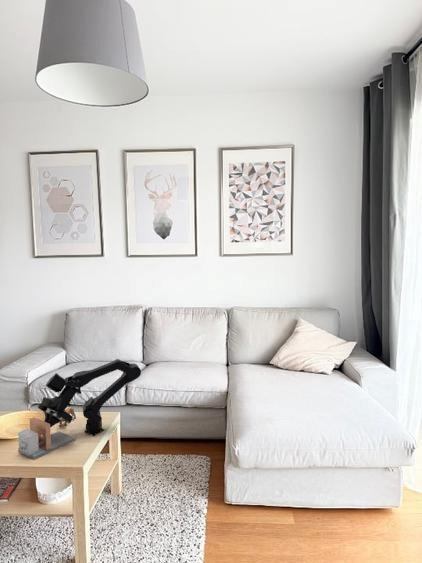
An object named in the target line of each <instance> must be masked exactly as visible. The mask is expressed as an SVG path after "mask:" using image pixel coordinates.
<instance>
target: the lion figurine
mask: <svg viewBox="0 0 422 563" xmlns="http://www.w3.org/2000/svg"><path fill="white" fill-rule="evenodd" d="M74 410H75V409H74V408H73V407H72V406H68V407H66V409H65V410H64V411H65V412H67V413H68V414H70V415H71V416H73V419H72V420H76V419H77V416H76V413H75V411H74ZM63 422H64V427H68V422H66V420H64V419H63V418H62V419H61V422H59V424H58V427H62V426H63Z"/></svg>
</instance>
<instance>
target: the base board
mask: <svg viewBox="0 0 422 563" xmlns="http://www.w3.org/2000/svg"><path fill="white" fill-rule="evenodd" d="M50 434H51V449H48V450H45V449H43V448H41V447H39V452H38V453H36V454H33V455H31V456H28V455H26V454H24V453H22V452H21V451H19V447H18V448H17V449H18V450H17V451H18V452H19V453H20V454H23V455H24V456H27V457H28V458H30V459H32V460H34V461H35V460H36V459H39V458H41V457H44V456H45V455H47V454H49V453H51V452H54V451H56V450H58V449H60V448H62V447H65V446H66V445H69V444H71V443H73V442H76V438H75V437H73V436H72V435H68V434H66V433H65V432H62V431H56V432H54V433H50Z"/></svg>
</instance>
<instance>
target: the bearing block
mask: <svg viewBox="0 0 422 563" xmlns="http://www.w3.org/2000/svg"><path fill="white" fill-rule="evenodd" d="M17 435H18V436H17V437H18V448H19V451H21V452H22V453H21V452H20V453H21V454H23V453H24V454H26V455H28V456H31V455H33V454H36V453H38V452H39V443H38V433H36V432H34V431H31V430H30V428H26V429H23V430H21V431H18V432H17ZM23 442H25V443H26V448H25V449H21V447H20V444H21V443H23ZM19 451H18V452H19ZM24 454H23V455H24ZM26 455H25V456H26ZM28 456H27V457H28Z"/></svg>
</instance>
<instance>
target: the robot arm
mask: <svg viewBox="0 0 422 563" xmlns="http://www.w3.org/2000/svg"><path fill="white" fill-rule="evenodd" d="M114 371H121V372H122V374H121V376H119V378H117V379H116V380H115V381H114V382H112V383H111V384H110V386H108V387H107V388H106V389H105V390H103V391H102V392H101V393H100V394H99V395H98V396H96V397H94V398H93V396H90V397H89V398H88V399H87V400H86V401H84V404H83V405H82V414H83V417H84V418H85V419H86V424H85V430H84V433H85V434H88V435H90V436H96V435H97V434H100V433H102V432H103V431H105V429H104V428H103V420H102V419H103V417H102V414H101V409H102V407H103V405H104V404H105V403H106V402H108V401H109V400H110V399H111V398H112V397H114V395H116V394H117V393H118V392H119V391H120V390H121V389H123V387H124V386H126V385H127V384H129V383H132V382H134V381H135V380H137V379H138V378H139V377H141V375H142V370H141V368H140V367H139V365H138V364H137V363H130V362H128V361H124V360H122V359H120V358H118V359H115V360H112V361H111V362H108V363H105V364H103V365H100V366H97V367H94V368H93V369H89V370H82V371H77V372H75V373H73V375H70V376H67V377H62V376H61V375H59V373H58V372H55V374H54V375H52V376H51V377H50V378H49V379H48V380H47V382H46V383H45V387H46V388H48V389H49V390H51V391H53V392H55V393H59V395H56V396H54V397H52V398H51V397H45V396H44V397H43V398H42V401H41V403H40V404H39V405H38V406H37V409H39V410H40V411H42V412H43V413H44V416H45V418H44V420H43V421H44V422H47V423H49V424H50V429H51V428H52V427H54V426H55V425H57V424H58V423H60V422H61V419H62V418H63V419H64V420H66V422H67V424H70V423H71V422H73V420H74V419H73V418H74V416H72V414H68V413H67V412H65V411H64V410H66V409H67V408H68V407H71V405H72V404H71V401H72V400H73V398H74V397H75V395H76V394H77V395H81V394H82V390H81V388H83V387H84V386H86V385H88V384H89V383H90V382H92V381H93V380H95V379H97V378H100V377H102V376H105V375H107V374H110V373H112V372H114Z"/></svg>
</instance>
